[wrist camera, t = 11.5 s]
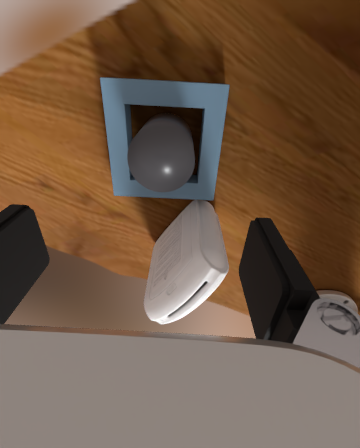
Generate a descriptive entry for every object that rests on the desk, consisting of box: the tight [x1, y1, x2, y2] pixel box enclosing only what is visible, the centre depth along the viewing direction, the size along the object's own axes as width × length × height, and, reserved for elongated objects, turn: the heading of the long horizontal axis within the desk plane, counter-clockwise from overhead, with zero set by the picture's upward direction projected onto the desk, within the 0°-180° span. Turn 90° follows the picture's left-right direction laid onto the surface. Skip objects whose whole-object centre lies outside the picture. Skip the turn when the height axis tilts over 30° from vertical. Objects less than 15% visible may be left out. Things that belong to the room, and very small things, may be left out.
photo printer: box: [144, 200, 229, 324], centre depth 26 cm, size 10×4×12 cm, turn 143°
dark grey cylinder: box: [127, 113, 195, 192], centre depth 22 cm, size 6×6×7 cm
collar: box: [100, 77, 230, 200], centre depth 24 cm, size 11×11×2 cm
